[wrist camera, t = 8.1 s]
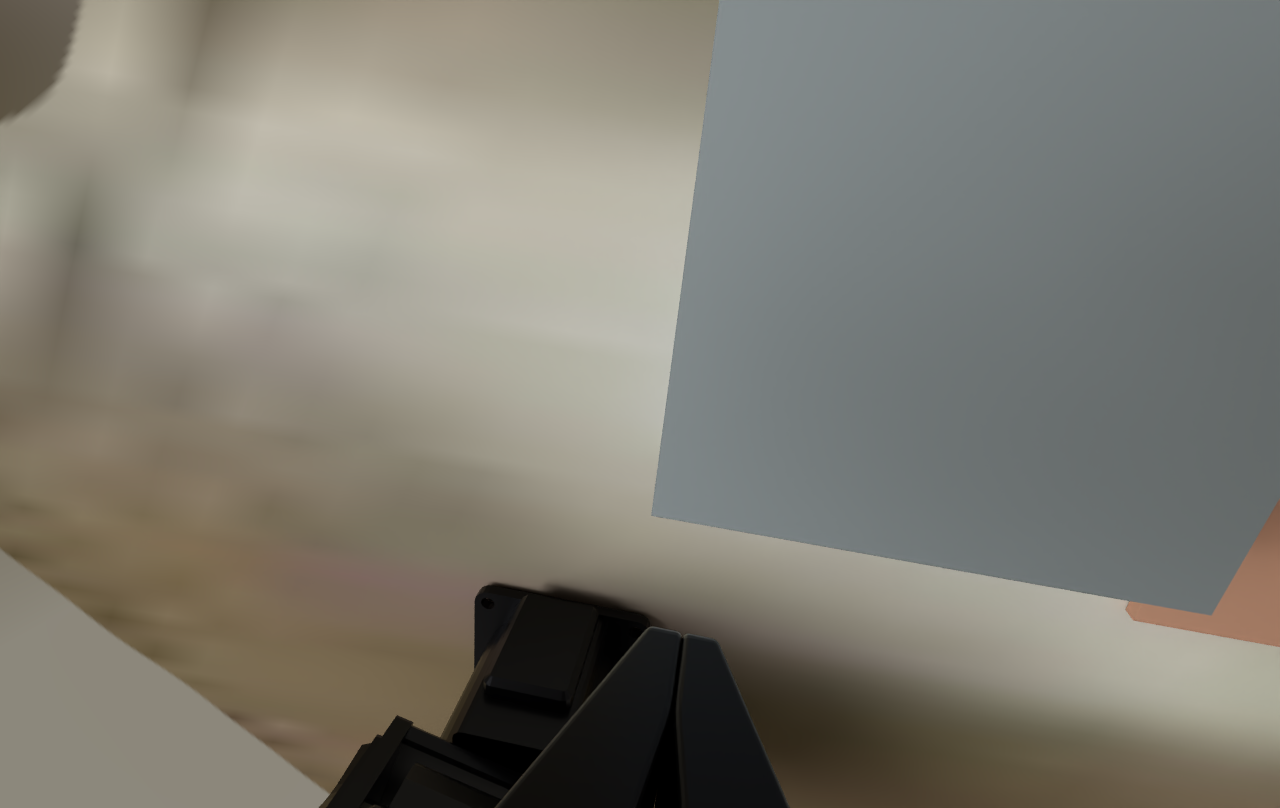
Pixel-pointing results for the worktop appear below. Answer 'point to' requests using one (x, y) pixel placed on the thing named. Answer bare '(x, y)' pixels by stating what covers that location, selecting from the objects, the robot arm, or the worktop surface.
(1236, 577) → the mat
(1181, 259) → the light blue flat slab
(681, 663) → the robot arm
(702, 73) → the worktop surface
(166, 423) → the worktop surface
